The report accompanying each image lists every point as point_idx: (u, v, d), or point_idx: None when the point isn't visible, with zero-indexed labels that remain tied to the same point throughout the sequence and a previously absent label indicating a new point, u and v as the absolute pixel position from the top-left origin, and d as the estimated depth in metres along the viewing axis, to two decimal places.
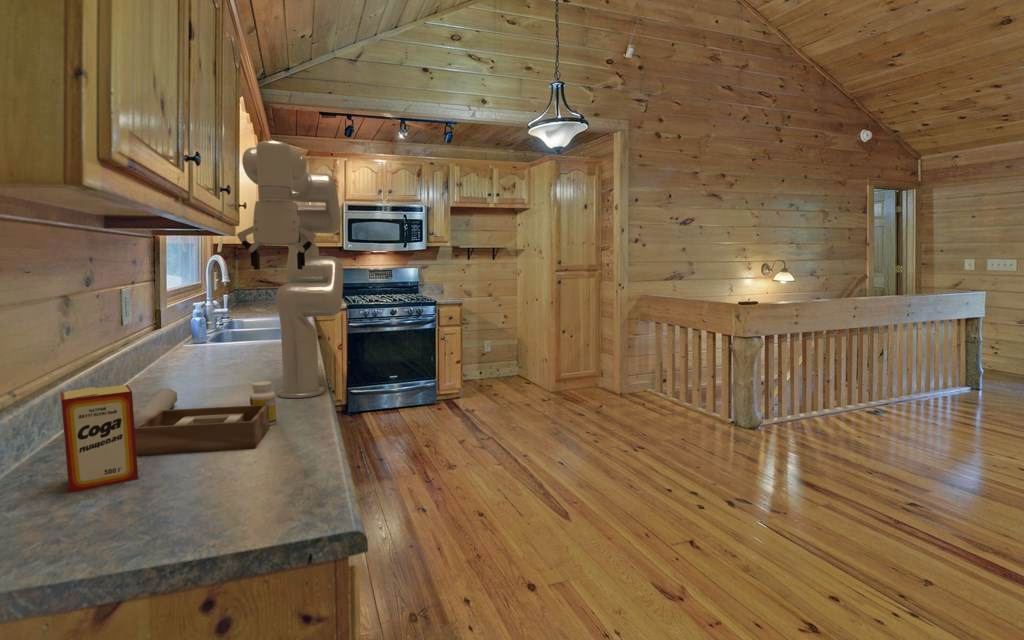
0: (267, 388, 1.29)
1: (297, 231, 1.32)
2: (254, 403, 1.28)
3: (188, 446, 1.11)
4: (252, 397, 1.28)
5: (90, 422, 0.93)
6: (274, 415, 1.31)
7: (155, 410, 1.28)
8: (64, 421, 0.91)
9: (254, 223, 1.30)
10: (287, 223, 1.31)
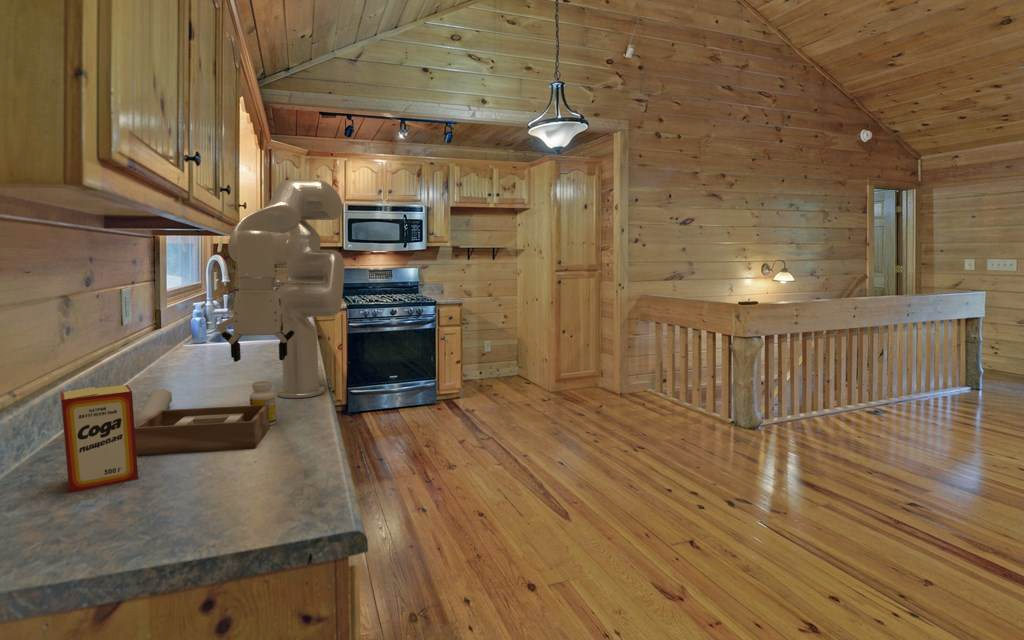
0: (267, 388, 1.29)
1: (279, 321, 1.28)
2: (254, 403, 1.28)
3: (188, 446, 1.11)
4: (252, 397, 1.28)
5: (90, 422, 0.93)
6: (274, 415, 1.31)
7: (156, 410, 1.28)
8: (64, 421, 0.91)
9: (234, 315, 1.25)
10: (268, 314, 1.26)
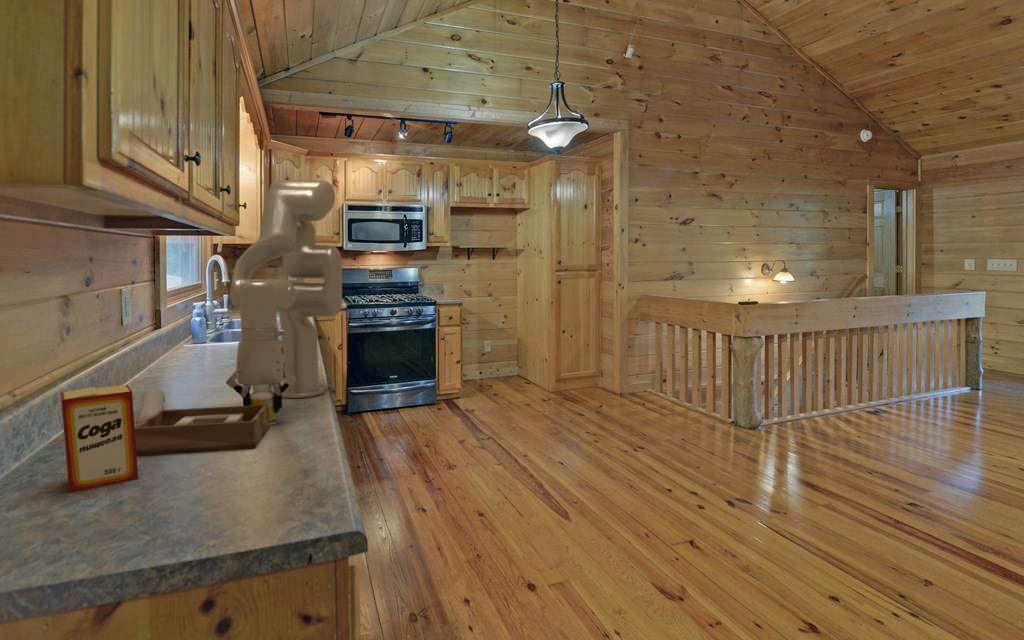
0: (267, 388, 1.29)
1: (281, 371, 1.29)
2: (254, 403, 1.28)
3: (188, 446, 1.11)
4: (252, 397, 1.28)
5: (90, 422, 0.93)
6: (274, 415, 1.31)
7: (157, 410, 1.29)
8: (64, 421, 0.91)
9: (237, 365, 1.27)
10: (271, 364, 1.28)
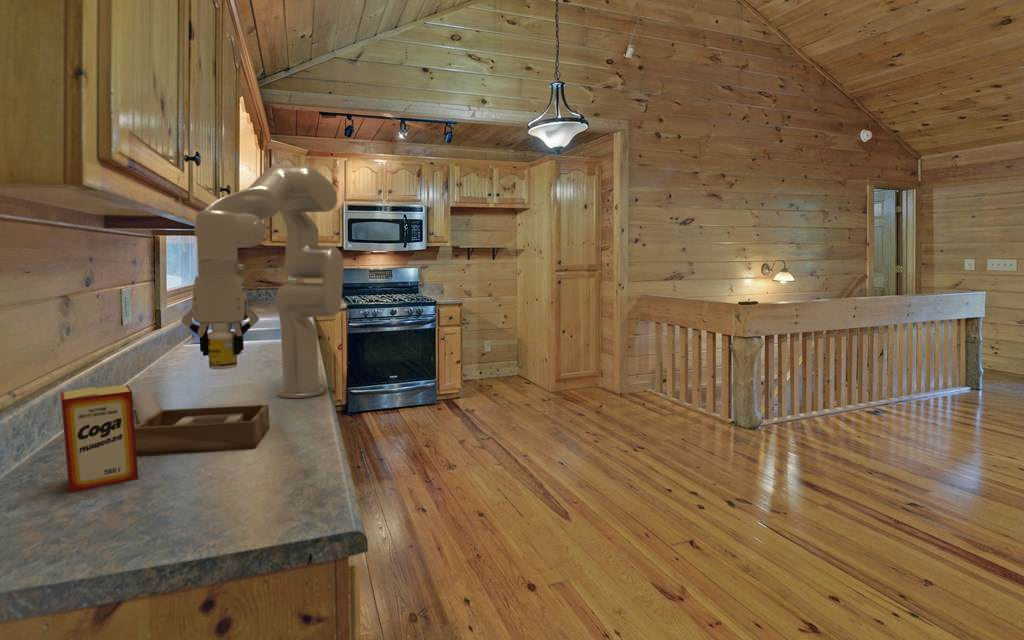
0: (226, 327, 1.19)
1: (242, 308, 1.19)
2: (211, 343, 1.18)
3: (188, 446, 1.11)
4: (210, 336, 1.18)
5: (90, 422, 0.93)
6: (234, 357, 1.21)
7: (158, 409, 1.29)
8: (64, 421, 0.91)
9: (193, 301, 1.17)
10: (231, 300, 1.18)
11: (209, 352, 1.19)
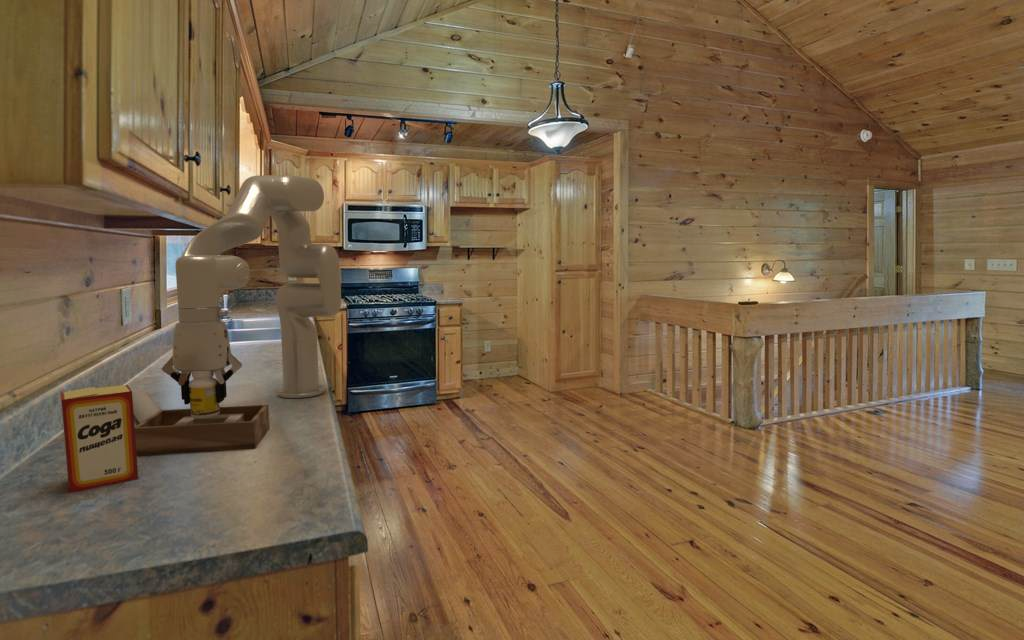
0: (208, 375, 1.16)
1: (224, 356, 1.16)
2: (192, 392, 1.15)
3: (188, 446, 1.11)
4: (191, 385, 1.15)
5: (90, 422, 0.93)
6: (217, 405, 1.18)
7: (159, 409, 1.29)
8: (64, 421, 0.91)
9: (174, 349, 1.14)
10: (212, 348, 1.15)
11: (190, 401, 1.16)
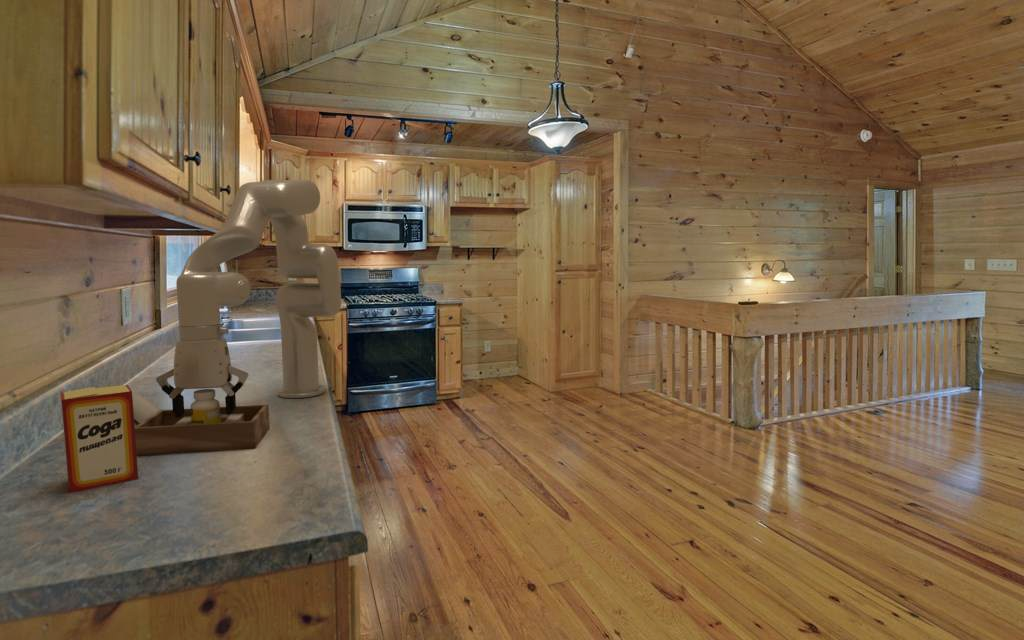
0: (210, 397, 1.17)
1: (225, 373, 1.16)
2: (194, 413, 1.16)
3: (188, 446, 1.11)
4: (193, 407, 1.16)
5: (90, 422, 0.93)
6: None
7: (159, 409, 1.29)
8: (64, 421, 0.91)
9: (175, 367, 1.14)
10: (213, 365, 1.15)
11: (192, 422, 1.16)
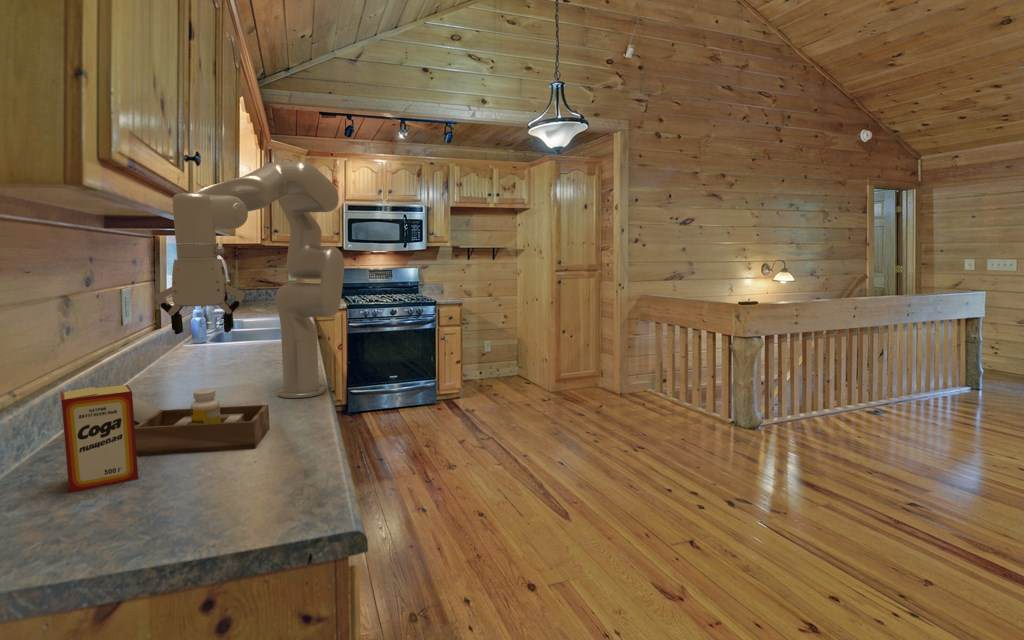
0: (210, 397, 1.17)
1: (222, 291, 1.20)
2: (194, 413, 1.16)
3: (188, 446, 1.11)
4: (193, 407, 1.16)
5: (90, 422, 0.93)
6: None
7: None
8: (64, 421, 0.91)
9: (173, 284, 1.17)
10: (210, 283, 1.19)
11: (192, 422, 1.16)
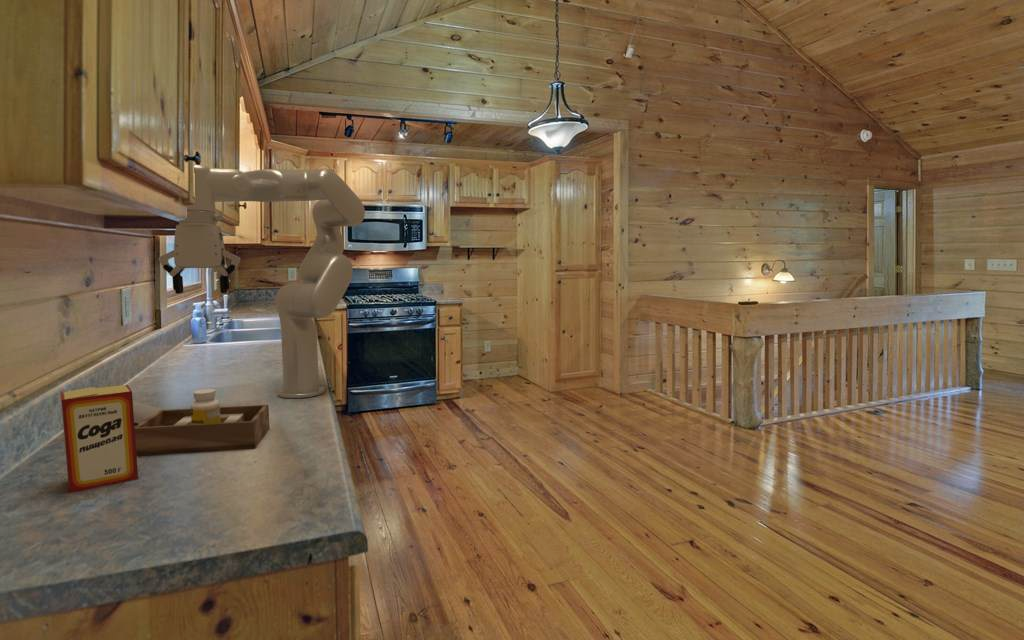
0: (210, 397, 1.17)
1: (219, 255, 1.31)
2: (194, 413, 1.16)
3: (188, 446, 1.11)
4: (193, 407, 1.16)
5: (90, 422, 0.93)
6: None
7: None
8: (64, 421, 0.91)
9: (175, 247, 1.29)
10: (208, 247, 1.30)
11: (192, 422, 1.16)
